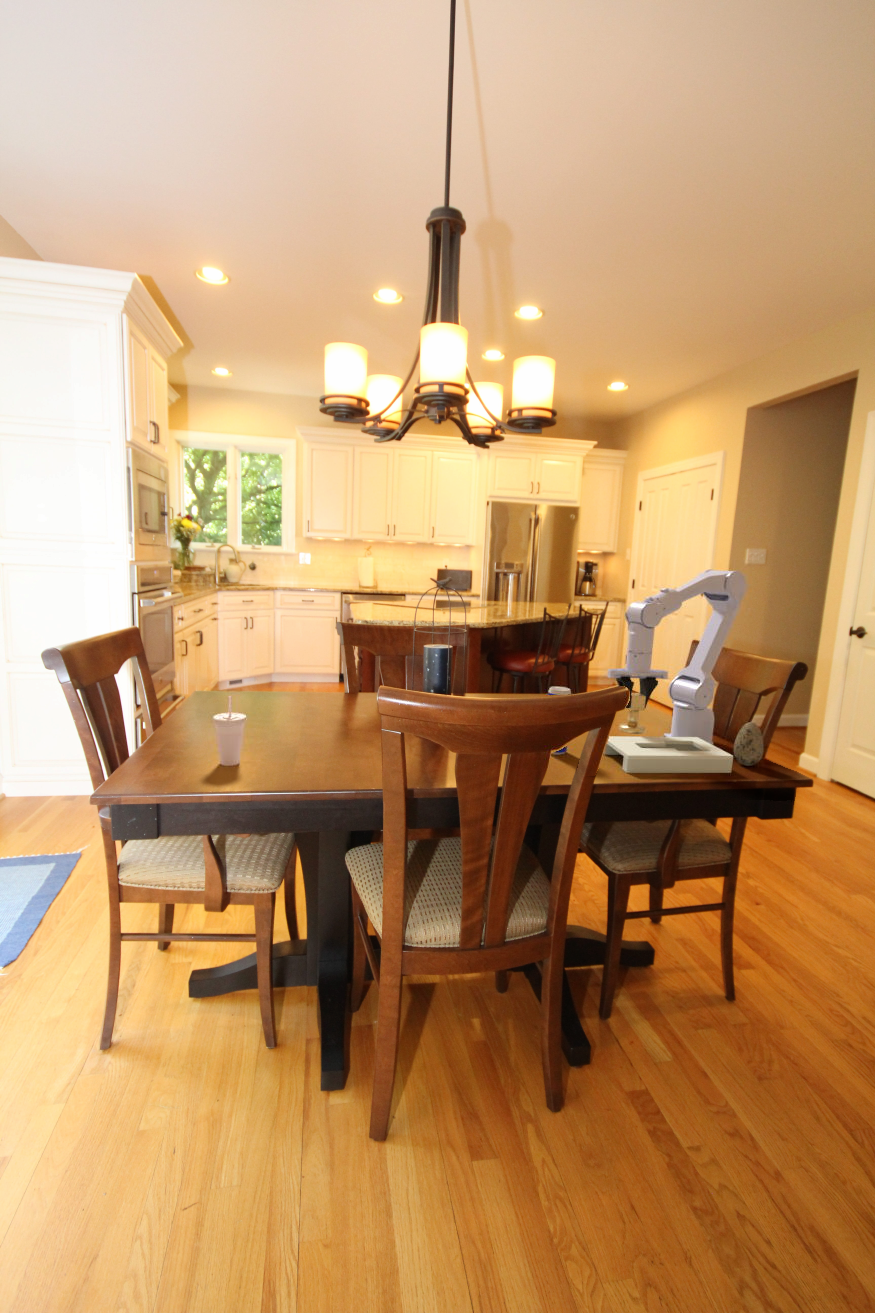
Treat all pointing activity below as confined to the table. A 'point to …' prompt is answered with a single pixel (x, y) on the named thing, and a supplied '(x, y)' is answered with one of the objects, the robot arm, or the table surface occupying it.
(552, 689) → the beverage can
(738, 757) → the decorative egg
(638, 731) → the keyhole peg
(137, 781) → the table surface
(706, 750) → the keyhole plate
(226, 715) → the smoothie
